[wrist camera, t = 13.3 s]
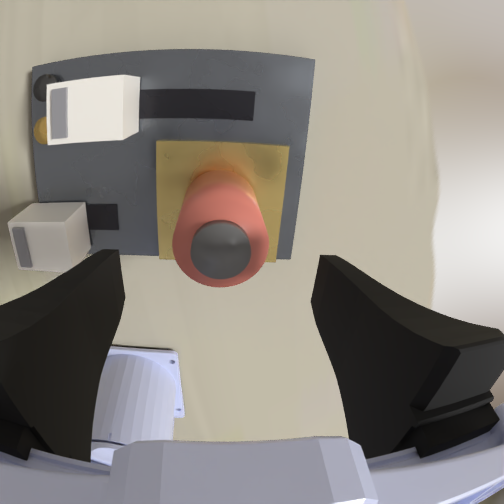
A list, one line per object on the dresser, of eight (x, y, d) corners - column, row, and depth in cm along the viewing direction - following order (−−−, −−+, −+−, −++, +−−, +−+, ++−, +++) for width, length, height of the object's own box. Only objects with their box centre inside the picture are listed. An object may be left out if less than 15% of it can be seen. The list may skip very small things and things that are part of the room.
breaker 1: (91, 247, 18) (72, 274, 16) (39, 246, 18) (17, 271, 15) (85, 202, 17) (63, 223, 14) (31, 203, 17) (5, 223, 14)
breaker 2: (138, 131, 16) (121, 140, 13) (72, 135, 15) (45, 146, 12) (140, 77, 14) (122, 74, 11) (72, 83, 14) (44, 84, 11)
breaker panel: (286, 250, 21) (292, 264, 20) (55, 244, 19) (44, 256, 18) (309, 61, 16) (318, 58, 14) (42, 67, 14) (27, 66, 12)
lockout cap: (253, 238, 19) (266, 295, 14) (184, 237, 18) (173, 294, 14) (258, 171, 17) (275, 207, 12) (183, 169, 17) (168, 205, 12)
